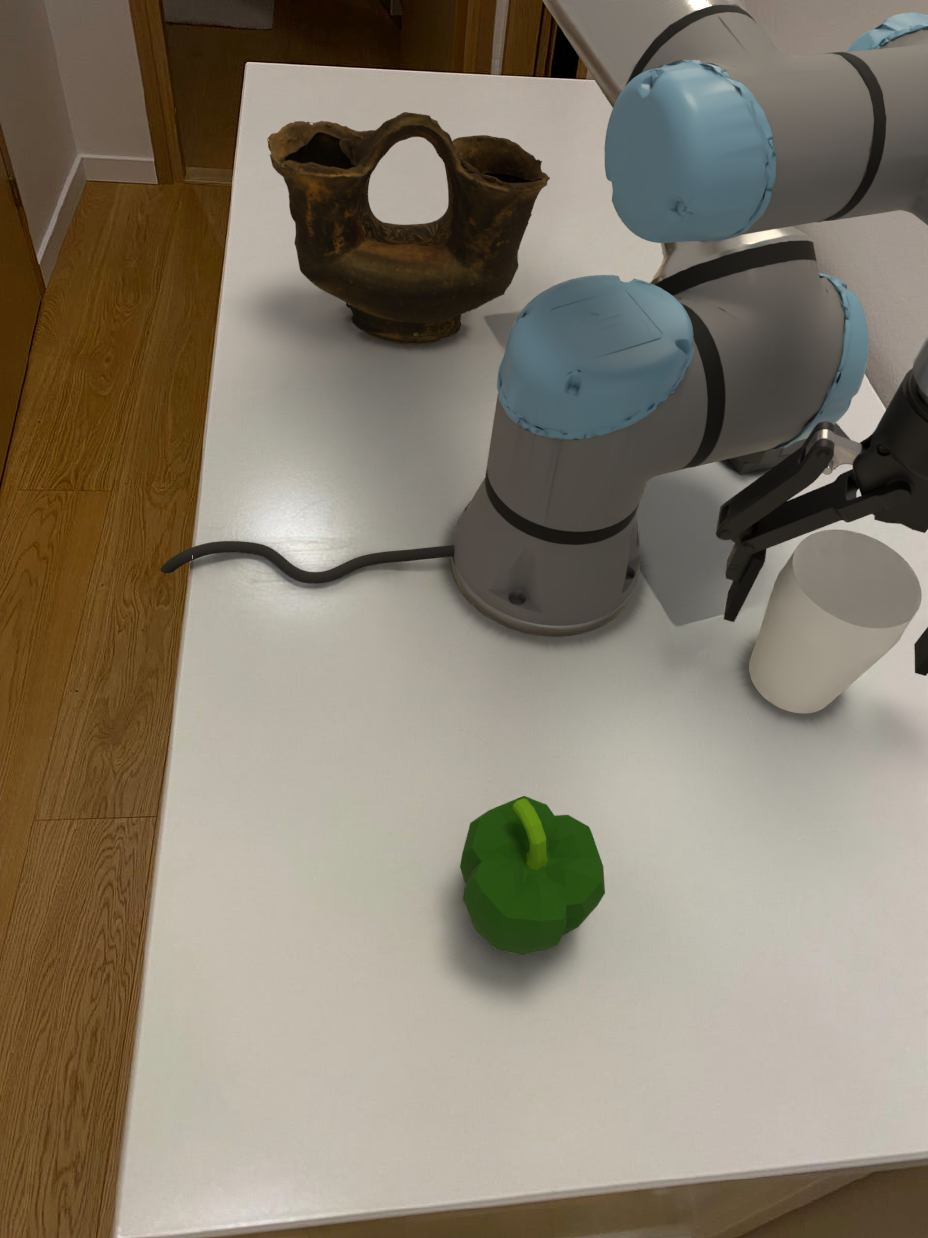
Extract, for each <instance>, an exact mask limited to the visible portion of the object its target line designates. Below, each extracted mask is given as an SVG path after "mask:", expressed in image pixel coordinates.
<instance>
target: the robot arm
mask: <svg viewBox="0 0 928 1238" xmlns="http://www.w3.org/2000/svg"><path fill="white" fill-rule="evenodd" d="M542 2H543V3H544V5H545V6H546V8H547V10H548V11H549V13H550V14H551V16H552V17H553V19H554V20H555V22H556V23H557V25H558V27H559V28H560V29H561V31H562V32H563V34H564V36H565V38H566V39H567V40H568V42H569V43H570V45H571V46H572V48H573V49H574V51H575V52H576V54H577V56H578V57H579V59H580V60H581V62H582V63H583V65H584V66H585V68H586V70H587V71H588V72H589V74H590V75H591V77H592V79H593V80H594V82H595V83H596V85H597V86H598V88H599V89H600V91H601V92H602V94H603V96H604V97H605V98H606V100H607V101H608V103H609V105H610V106H611V108H612V109H611V112H610V115H609V118H608V122H607V127H606V131H605V137H604V138H605V139H604V171H605V177H606V179H607V181H609V182H611V188H612V193H611V202H612V205H613V208H614V210H615V212H616V214H617V216H618V218H619V219H620V220H621V222H622V224H623V225H624V226H625V227H626V228H627V229H628V231H630V232H631V233H632V234H633V235H635V236H636V237H638V238H640V239H642V240H644V241H647V242H650V243H655V244H660V246H661V252H662V261H661V264H660V266H659V268H658V269H657V271H656V273H655V274H654V276H653V277H652V279H651V281H650V282H648V281H645V280H641V279H637V278H633V279H632V280H629V281H622V280H621V278H620V276H619V275H615V274H596V275H586V276H579V277H576V278H571V279H568V280H565V281H563V282H562V281H561V282H559V283H557V284H555V285H552V286H550V287H548V288H547V289H545V290H543V291H542V292H540V293H539V294H537V295H535V297H533V298H532V299H531V300H530V301H528V303H527V304H526V305H525V306H524V307H523V308H522V309H521V311H519V314H518V315H517V317H516V319H515V321H514V322H513V324H512V326H511V328H510V332H509V335H508V339H507V342H506V346H505V351H504V353H503V357H502V359H501V362H500V363H499V367H498V372H497V382H496V388H497V397H496V403H495V409H494V417H493V423H492V429H491V436H490V442H489V449H488V456H487V462H486V469H485V475H484V478H483V480H482V482H481V483H480V485H479V486H478V488H477V489H476V492H475V493H474V494H473V496H472V498H471V500H470V501H468V503H467V505H466V506H465V507H464V509H463V510H462V512H460V513H461V514H460V515H459V517H458V519H457V522H456V525H455V527H454V531H453V534H452V541H451V544H450V545H439V546H438V545H437V546H429V547H421V548H420V547H419V548H410V549H398V550H388V551H387V550H386V551H379V552H373V553H367V554H363V555H360V556H358V557H357V556H356V557H354V558H352V559H349V560H347V561H345V562H343V563H341V564H339V565H337V566H335V567H332V568H330V569H327V570H322V571H309V570H308V571H307V570H303V569H301V568H299V567H298V566H295V565H294V564H293V563H291V562H290V561H288V559H287V558H285V557H284V556H283V555H282V554H280V552H278V551H277V550H275V549H273V548H272V547H270V546H268V545H265V544H262V543H257V542H251V541H242V540H219V541H212V542H211V541H210V542H206V543H202V544H198V545H195V546H192V547H189V548H187V549H185V550H183V551H181V552H178V553H177V554H175V555H174V556H172V557H171V558H169V559H168V560H167V561H166V562H165V563H163V565H162V566H161V567H160V568H159V570H160V572H161V573H163V574H171V573H174V572H175V571H176V570H177V569H179V568H181V567H182V566H185V564H187V563H189V562H191V561H194V560H196V559H199V558H202V557H205V556H211V555H216V554H225V553H226V554H229V553H230V554H231V553H235V554H249V555H256V556H259V557H262V558H264V559H266V560H268V561H269V562H271V563H272V564H273V566H275V567H276V568H277V569H279V571H281V572H282V573H284V574H285V575H286V576H287V577H289V578H290V579H293V580H295V581H296V582H300V583H303V584H309V585H311V584H312V585H314V584H315V585H316V584H317V585H318V584H319V585H320V584H326V583H331V582H334V581H336V580H339V579H341V578H343V577H345V576H347V575H349V574H352V573H354V572H356V571H358V570H361V569H364V568H366V567H371V566H375V565H376V566H377V565H382V564H392V563H393V564H394V563H402V562H403V563H404V562H405V563H406V562H414V561H423V560H433V559H443V558H450V564H451V566H450V567H451V570H452V573H453V576H454V579H455V581H456V583H457V585H458V588H459V589H460V590H461V592H462V593H463V595H464V596H465V598H466V599H467V600H468V601H469V602H470V603H471V604H472V605H473V606H474V607H475V608H476V609H477V610H479V611H480V612H481V613H482V614H483V615H485V616H487V617H488V618H489V619H491V620H493V621H494V622H496V623H498V624H501V625H502V626H505V627H506V628H509V629H512V630H514V631H518V632H521V633H524V634H529V635H534V636H541V637H553V638H556V637H557V638H561V637H562V638H563V637H571V636H577V635H582V634H585V633H586V634H587V633H590V632H592V631H595V630H597V629H600V628H602V627H604V626H605V625H607V624H608V623H610V622H611V621H613V620H614V619H615V618H617V617H618V616H619V615H620V614H621V613H622V612H623V611H624V609H625V608H626V607H627V605H628V604H629V602H630V600H631V598H632V596H633V593H634V591H635V588H636V585H637V583H638V579H639V574H640V569H641V544H640V542H641V535H640V534H641V533H639V524H638V523H640V519H639V518H638V516H637V511H638V508H639V505H640V502H641V500H642V497H643V494H644V491H645V488H646V486H647V483H648V482H649V480H651V479H652V478H654V477H657V476H662V475H665V474H669V473H672V472H673V473H674V472H677V471H681V470H685V469H691V468H696V467H700V466H704V465H708V464H712V463H716V462H721V461H726V460H729V459H730V458H734V457H739V456H743V455H747V454H751V453H755V452H760V451H767V450H776V449H778V448H785V447H787V446H789V445H791V444H793V443H795V442H797V441H800V440H803V439H806V438H807V439H806V441H805V442H804V444H803V446H802V447H800V448H799V449H798V450H796V451H795V452H794V453H792V454H791V455H789V456H788V457H787V458H785V459H784V460H783V461H781V462H780V463H779V464H777V465H776V466H774V467H773V468H769V469H768V470H767V471H766V472H765V473H763V474H762V475H761V476H760V477H758V478H757V479H756V480H754V481H753V482H751V483H749V484H748V485H747V486H745V487H744V488H743V489H741V490H740V491H739V492H738V493H736V494H734V495H733V496H732V497H731V498H729V499H728V500H727V501H725V502H724V503H722V504H721V506H720V507H719V511H718V512H719V513H718V517H717V524H716V529H715V535H716V537H717V539H720V540H721V541H731V542H733V543H734V544H733V547H732V549H731V551H730V553H729V555H728V557H727V560H726V567H725V573H724V574H725V579H726V580H730V581H732V583H731V585H730V587H729V589H728V591H727V594H726V601H725V608H724V614H723V620H725V621H727V622H732V623H735V621H736V620H737V618H738V615H739V613H740V612H741V609H742V608H743V605H744V604H745V602H746V599H747V598H748V596H749V594H750V591H751V590H752V588H753V586H754V584H755V582H756V580H757V578H758V576H759V574H760V572H761V570H762V568H763V566H764V565H765V562H766V558H767V557H766V555H767V549H770V548H773V547H775V546H778V545H780V544H782V543H785V542H788V541H791V540H794V539H796V538H798V537H802V536H804V535H806V534H809V533H811V532H814V531H817V530H820V529H822V528H825V527H827V526H830V525H832V524H835V523H837V522H840V521H844V523H851V522H854V521H857V520H859V519H862V518H865V517H867V516H871V515H873V518H874V519H873V520H874V521H877V522H881V523H886V524H895V525H896V524H897V525H902V526H904V527H907V528H908V529H910V530H912V531H916V532H919V533H923V534H926V533H927V531H928V335H927V336H926V338H925V340H924V341H923V343H922V345H921V346H920V349H919V351H918V352H917V354H916V355H915V358H914V360H913V362H912V368H911V369H909V370H908V371H907V372H906V373H905V375H904V377H903V378H902V381H901V382H900V383H899V386H898V388H897V389H896V391H895V393H894V395H893V397H892V398H891V400H890V402H889V403H888V405H887V407H886V409H885V411H884V412H883V415H882V416H881V418H880V419H879V421H878V424H877V426H876V428H875V429H874V430H873V432H872V433H871V434H870V435H869V436H868V437H866V438H865V439H863V440H861V441H860V442H859V441H855V440H852V439H851V438H850V439H851V440H850V439H847V438H844V437H841V436H839V435H836V434H835V426H834V424H835V423H837V422H839V421H840V420H841V419H842V418H843V417H844V416H845V414H846V413H847V411H848V410H849V409H850V407H851V403H852V399H853V398H854V397H855V396H856V395H857V394H858V393H859V391H860V390H861V386H862V384H863V382H864V378H865V374H866V372H867V366H868V365H867V364H868V359H869V351H870V350H869V349H870V336H869V335H870V334H869V327H868V321H867V316H866V312H865V310H864V307H863V305H862V302H861V300H860V299H859V297H858V295H857V293H856V292H855V291H854V290H848V284H847V283H846V282H845V281H843V280H842V279H840V278H838V277H836V276H833V275H829V274H826V273H824V272H819V266H818V262H817V257H816V251H815V244H814V239H813V237H811V236H809V235H807V234H806V233H804V232H803V231H801V230H799V229H798V228H796V227H795V226H800V225H807V224H813V223H822V222H833V221H838V220H845V219H852V218H853V219H854V218H859V217H865V216H872V215H873V216H874V215H878V214H884V213H891V212H899V211H903V212H907V213H909V214H912V215H913V216H915V217H916V218H917V219H918V220H920V221H921V222H922V223H924V224H925V225H926V226H928V14H925V13H921V12H917V11H915V12H914V11H913V12H911V11H910V12H902V13H897V14H894V15H891V16H889V17H888V18H885V19H884V20H883V22H882V23H881V24H879V25H878V26H876V27H875V28H873V29H870V30H868V31H867V30H866V31H865V32H863V33H862V34H860V35H859V36H858V37H857V38H856V39H855V40H854V41H853V42H852V43H851V44H850V45H849V46H848V48H847V49H846V50H845V51H836V52H825V53H812V54H798V55H796V54H795V55H791V54H788V53H785V52H783V51H782V50H780V49H779V48H778V46H776V44H775V43H774V42H773V41H772V39H771V38H770V36H769V35H768V34H767V33H766V31H765V30H764V28H762V27H761V26H760V25H759V24H758V22H757V21H756V19H755V18H754V16H752V15H751V13H750V12H749V11H748V9H747V7H746V1H745V0H542ZM842 465H850V466H852V469H849V470H847V471H844V472H842V473H840V474H839V475H838V476H837V477H836V478H835V480H834V481H832V482H830V483H828V484H825V485H822V486H820V487H818V488H815V489H813V490H810V491H808V492H806V493H803V494H800V495H798V494H799V493H801V492H803V491H804V490H805V489H807V488H808V487H809V486H811V485H812V484H813V483H814V482H815V481H817V479H818V478H819V477H820V476H822V474H823V475H826V476H829V475H832V473H833V471H834V470H836V469H838V468H839V466H842ZM858 490H859V493H860V495H859V496H857V493H858ZM796 495H798V496H796ZM795 496H796V497H795ZM192 555H193V559H192ZM913 645H914V646H913V647H914V648H913V649H914V673H915V674H916V675H921V676H923V677H926V676H927V675H928V626H926V628H925V629H924V631H923V632H922V634H921V635H920V636H919V637H918V639H917V640H916V641H915V643H914V644H913Z"/></svg>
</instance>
